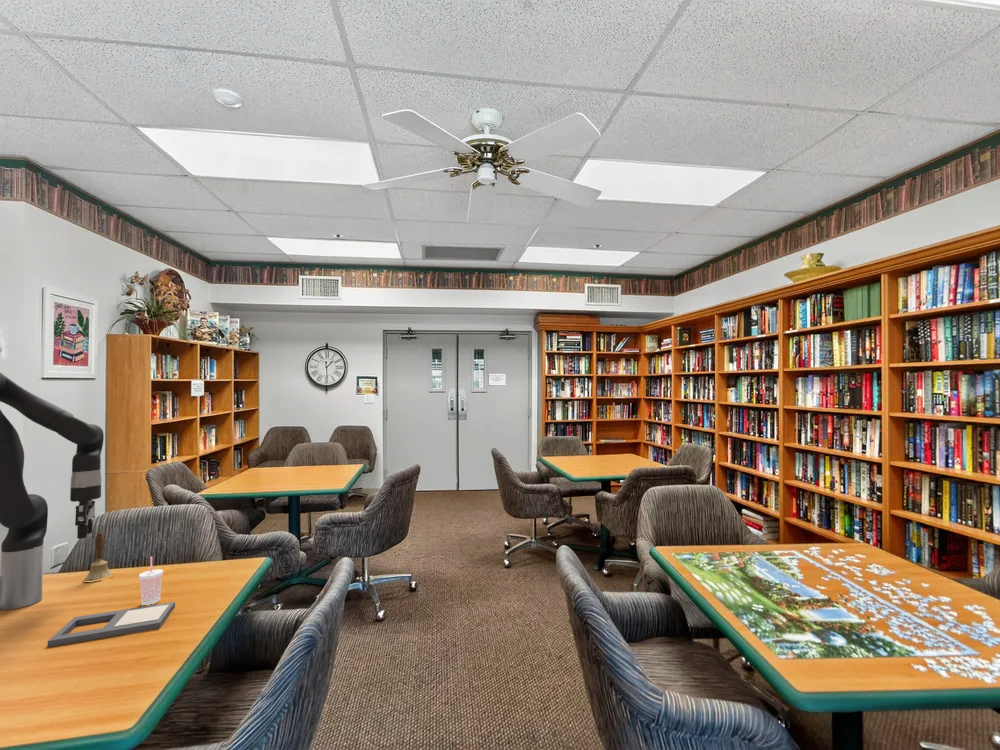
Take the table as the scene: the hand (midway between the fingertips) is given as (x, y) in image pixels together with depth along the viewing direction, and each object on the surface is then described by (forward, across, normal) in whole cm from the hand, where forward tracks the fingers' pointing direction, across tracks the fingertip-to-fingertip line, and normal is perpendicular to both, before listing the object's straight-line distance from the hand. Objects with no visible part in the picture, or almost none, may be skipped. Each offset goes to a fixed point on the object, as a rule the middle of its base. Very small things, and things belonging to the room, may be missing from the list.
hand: (85, 535), depth 150 cm
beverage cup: (+21, +17, +18) cm, 33 cm away
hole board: (+22, +30, +12) cm, 39 cm away
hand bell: (+18, -19, +1) cm, 26 cm away
